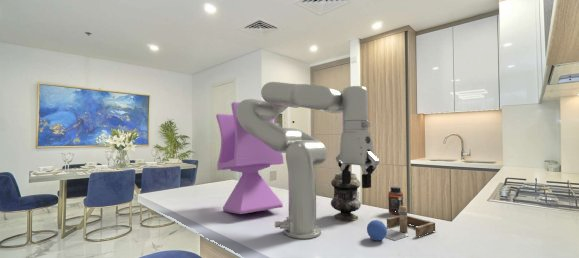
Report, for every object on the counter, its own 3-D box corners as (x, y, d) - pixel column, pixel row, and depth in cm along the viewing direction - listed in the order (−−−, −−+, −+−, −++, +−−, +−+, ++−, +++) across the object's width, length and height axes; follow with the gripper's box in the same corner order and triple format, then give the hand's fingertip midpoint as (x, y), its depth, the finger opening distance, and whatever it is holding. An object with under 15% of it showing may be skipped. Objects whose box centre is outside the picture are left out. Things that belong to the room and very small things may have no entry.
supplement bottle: (405, 215, 108) (404, 188, 109) (390, 214, 109) (389, 188, 110) (401, 211, 114) (401, 186, 114) (387, 211, 115) (387, 185, 116)
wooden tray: (418, 237, 83) (418, 228, 83) (386, 227, 93) (386, 218, 93) (435, 231, 89) (435, 222, 89) (403, 222, 99) (403, 214, 99)
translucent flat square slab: (394, 240, 80) (394, 240, 80) (376, 234, 86) (376, 233, 86) (409, 235, 85) (409, 235, 85) (391, 229, 91) (391, 229, 91)
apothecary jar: (367, 220, 102) (366, 174, 103) (341, 223, 98) (340, 175, 99) (349, 212, 113) (348, 171, 114) (325, 215, 109) (325, 172, 110)
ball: (373, 244, 78) (373, 224, 78) (363, 237, 84) (363, 218, 84) (391, 242, 79) (390, 222, 79) (380, 235, 85) (379, 217, 85)
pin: (402, 233, 87) (402, 207, 88) (398, 230, 90) (397, 205, 90) (409, 232, 88) (408, 207, 88) (404, 230, 90) (403, 205, 91)
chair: (219, 211, 116) (215, 114, 124) (262, 204, 129) (256, 117, 137) (238, 214, 98) (232, 101, 106) (287, 206, 110) (278, 106, 119)
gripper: (387, 126, 73) (388, 189, 72) (343, 129, 88) (344, 181, 87) (369, 125, 69) (371, 191, 68) (326, 128, 84) (327, 183, 83)
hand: (356, 185), depth 77 cm, fingers open, 7 cm apart
